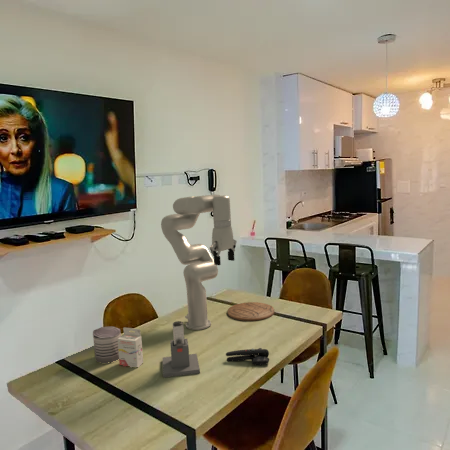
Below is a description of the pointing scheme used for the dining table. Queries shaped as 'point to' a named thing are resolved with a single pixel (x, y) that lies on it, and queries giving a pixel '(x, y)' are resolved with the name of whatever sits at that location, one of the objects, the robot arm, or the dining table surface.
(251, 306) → the trivet
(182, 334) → the column
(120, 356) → the ink cartridge box
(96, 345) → the can
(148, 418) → the dining table surface
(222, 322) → the dining table surface
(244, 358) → the can opener
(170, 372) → the stand
